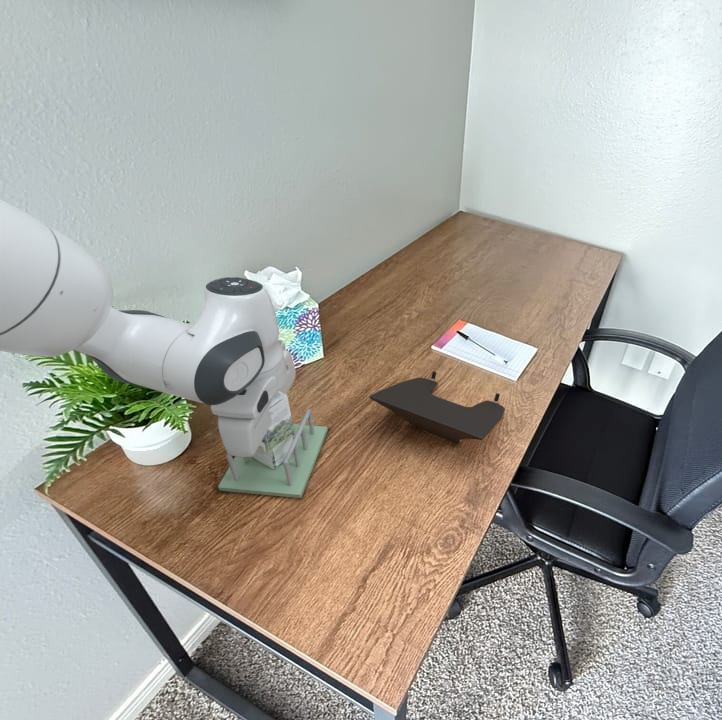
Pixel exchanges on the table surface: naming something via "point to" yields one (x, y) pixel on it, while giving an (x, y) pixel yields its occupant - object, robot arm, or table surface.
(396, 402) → the laptop tray
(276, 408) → the syrup box
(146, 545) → the table surface
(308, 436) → the drying rack
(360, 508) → the table surface
